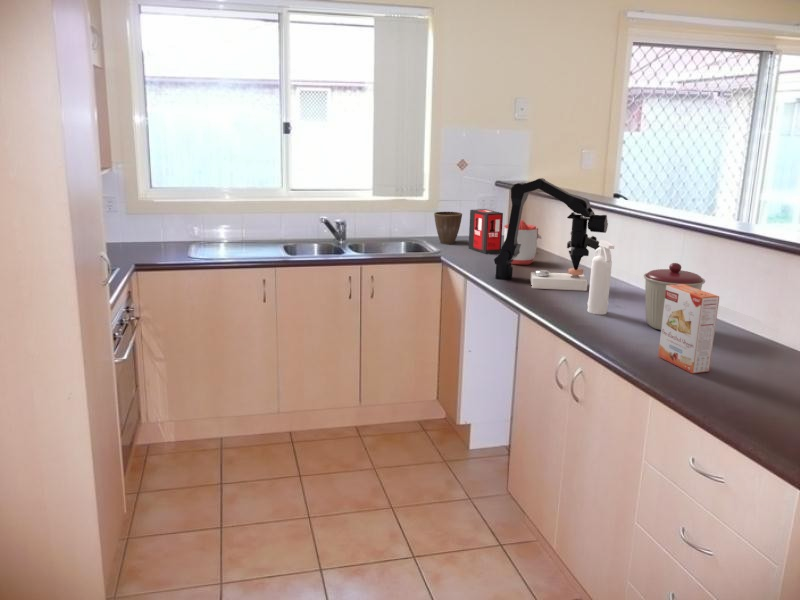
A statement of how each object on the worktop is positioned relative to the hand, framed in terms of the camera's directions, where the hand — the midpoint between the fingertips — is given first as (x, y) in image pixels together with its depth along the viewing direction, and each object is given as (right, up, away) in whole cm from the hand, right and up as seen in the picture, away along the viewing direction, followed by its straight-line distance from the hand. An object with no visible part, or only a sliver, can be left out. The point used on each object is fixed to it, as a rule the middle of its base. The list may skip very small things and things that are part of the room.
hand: (575, 269), depth 271 cm
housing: (-7, -6, +2) cm, 9 cm away
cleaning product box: (-27, +13, +76) cm, 82 cm away
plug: (-13, -6, +3) cm, 14 cm away
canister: (+16, -21, -52) cm, 58 cm away
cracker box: (+7, -30, -86) cm, 91 cm away
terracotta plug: (0, -5, +1) cm, 5 cm away
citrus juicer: (-13, +5, +47) cm, 49 cm away
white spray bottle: (-2, -16, -34) cm, 38 cm away
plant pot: (-44, +18, +97) cm, 108 cm away
